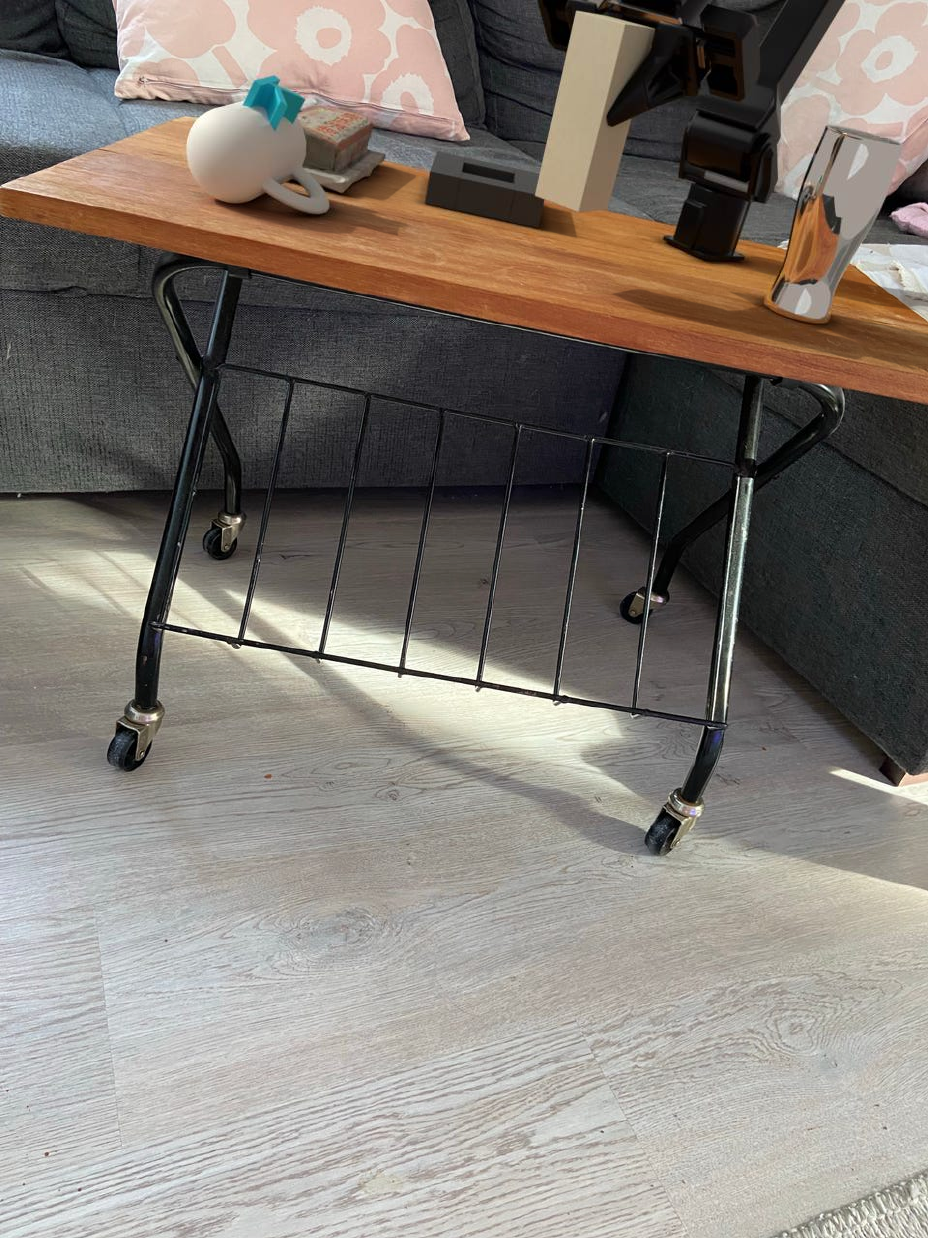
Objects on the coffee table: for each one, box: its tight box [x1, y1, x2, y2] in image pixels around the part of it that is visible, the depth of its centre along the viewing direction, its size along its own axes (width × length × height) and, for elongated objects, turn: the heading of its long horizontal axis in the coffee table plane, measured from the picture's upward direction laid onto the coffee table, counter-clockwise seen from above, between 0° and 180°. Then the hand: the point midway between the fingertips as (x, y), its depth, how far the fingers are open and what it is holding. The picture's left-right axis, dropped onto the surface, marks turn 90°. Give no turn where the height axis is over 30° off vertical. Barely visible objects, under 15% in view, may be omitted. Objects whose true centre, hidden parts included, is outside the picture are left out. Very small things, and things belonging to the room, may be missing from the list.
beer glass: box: [763, 124, 905, 325], centre depth 86 cm, size 7×7×15 cm
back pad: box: [535, 11, 655, 213], centre depth 76 cm, size 4×4×13 cm
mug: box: [185, 74, 330, 215], centre depth 83 cm, size 12×9×12 cm
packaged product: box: [290, 104, 387, 194], centre depth 99 cm, size 18×5×10 cm
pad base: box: [424, 150, 546, 229], centre depth 101 cm, size 11×11×3 cm
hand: (583, 113), depth 75 cm, fingers closed on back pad, 4 cm apart
